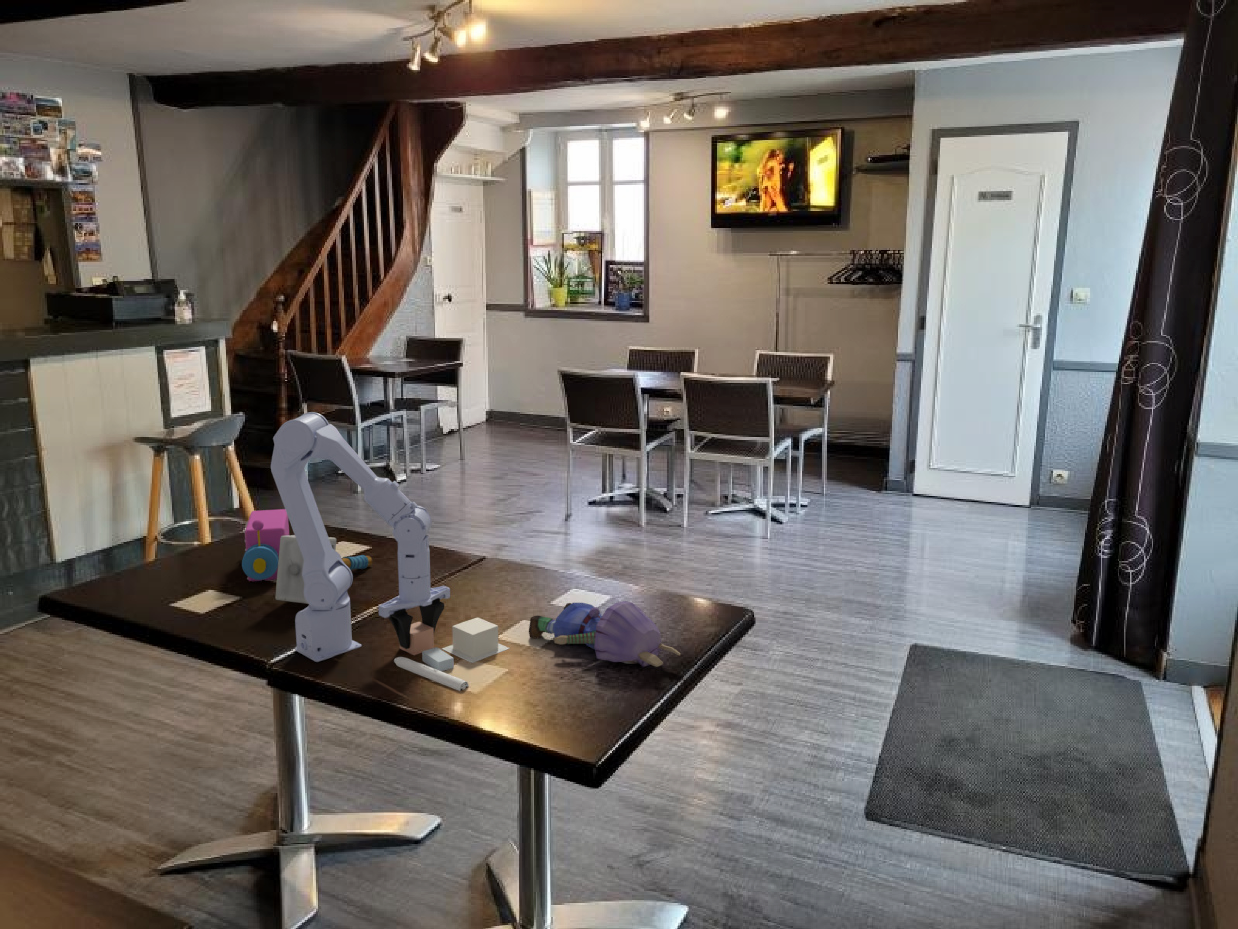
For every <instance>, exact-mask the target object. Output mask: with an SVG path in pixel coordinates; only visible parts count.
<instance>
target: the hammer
mask: <svg viewBox="0 0 1238 929" xmlns="http://www.w3.org/2000/svg"><path fill="white" fill-rule="evenodd" d="M328 538H329V541H330V543H331V546H332V548H333V549H334V550H335V551H337V550H336V548H337V538H336V537H331V536H330V537H329V536H328ZM341 559H342V561H343V562H344V563H345V564H346V565H347V566H348V567H349V569H350V570H351V571H353V570H364V569H366V568H368V567H371V566H372V565H373V558H372V556H370V555H364V554H361V555H356V556H343V557H341ZM303 563H304V559H303V556H302V553H301V551H300V548H299V545H298V542H297V540H296V537H295V534H292V535H290V534H289V535H288V536H281V538H280V550H279V561H278V573H277V580H276V587H275V600H276V601H282V602H290V603H291V602H292V603H298V604H299V603H300V604H307V605H309V604H308V602H307V601H306V599H305V597H304V580H303V577H302V570H303Z"/></svg>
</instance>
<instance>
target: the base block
mask: <svg viewBox="0 0 1238 929" xmlns="http://www.w3.org/2000/svg"><path fill="white" fill-rule="evenodd" d="M451 629H452V631H451V632H452V645H453V649H455V650H457V651H459V652H461V653H464V654H466V655H468V656H470V657H472V658H474V657H477V656H480V655H482V654H485V653H488V652H490V651H493V650H495V649H498V643H499V625H497V624H495V623H492V622H489V621H487V620H485V619H483V618H481V617H475V618H472V619H469V620H466V621H463V622H460V623H457V624H455V625H452V628H451Z"/></svg>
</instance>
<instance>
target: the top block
mask: <svg viewBox="0 0 1238 929" xmlns="http://www.w3.org/2000/svg"><path fill="white" fill-rule="evenodd" d="M434 640H435V632H434V629H433V628H432V627H430V626H428V625H426V624H423V623H422V621H417V622H414V623H411V628H410V648H408V649H405V648H403V647H401V646H400V645H399V649H400V650H402V651H404V652H406V653H408V654H410V655H413V656H417V655H419V654H422V651H425V650H429V649H432V648H435V641H434Z"/></svg>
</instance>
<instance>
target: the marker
mask: <svg viewBox="0 0 1238 929" xmlns="http://www.w3.org/2000/svg"><path fill="white" fill-rule="evenodd" d="M393 662H394V663H395V665H396V666H397V667H399V668H401V669H403V670H406V671H408V672H411V673H413V674H416V675H418V676H421V677H423V678H427V679H428V680H431V681H434V682H436V683H439V684H442V685H443V686H445V687H448V688H452V689H453V690H456V691H459V692H461V690H465V689H466V687H467V688H469V687H470V684H469V682H468V681H466V680H464V679H461V678H460V677H457V676H454V675H451V674H449V673H446V672H445V671H439V670H437V669H434V668H432V667H431V666H429V665H427V664H424V663H421V662H418V661H416V660H413V659H410V658H408V657H403V656H398V657H395V658H394V660H393Z"/></svg>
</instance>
